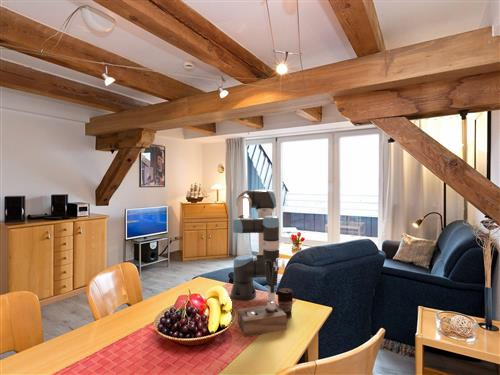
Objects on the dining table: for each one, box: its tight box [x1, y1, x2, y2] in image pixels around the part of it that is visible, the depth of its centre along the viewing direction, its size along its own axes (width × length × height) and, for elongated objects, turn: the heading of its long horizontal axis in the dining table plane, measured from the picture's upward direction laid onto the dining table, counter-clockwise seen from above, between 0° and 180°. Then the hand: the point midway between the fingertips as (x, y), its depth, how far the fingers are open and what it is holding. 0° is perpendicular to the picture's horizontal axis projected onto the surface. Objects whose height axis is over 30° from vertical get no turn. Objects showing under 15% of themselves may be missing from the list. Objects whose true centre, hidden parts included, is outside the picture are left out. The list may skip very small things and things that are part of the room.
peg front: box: [247, 311, 256, 317], centre depth 128 cm, size 4×4×6 cm
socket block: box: [237, 303, 288, 338], centre depth 130 cm, size 12×20×7 cm, turn 107°
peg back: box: [266, 299, 277, 313], centre depth 131 cm, size 4×4×6 cm
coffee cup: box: [276, 287, 295, 319], centre depth 141 cm, size 9×8×13 cm
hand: (271, 298), depth 131 cm, fingers closed
